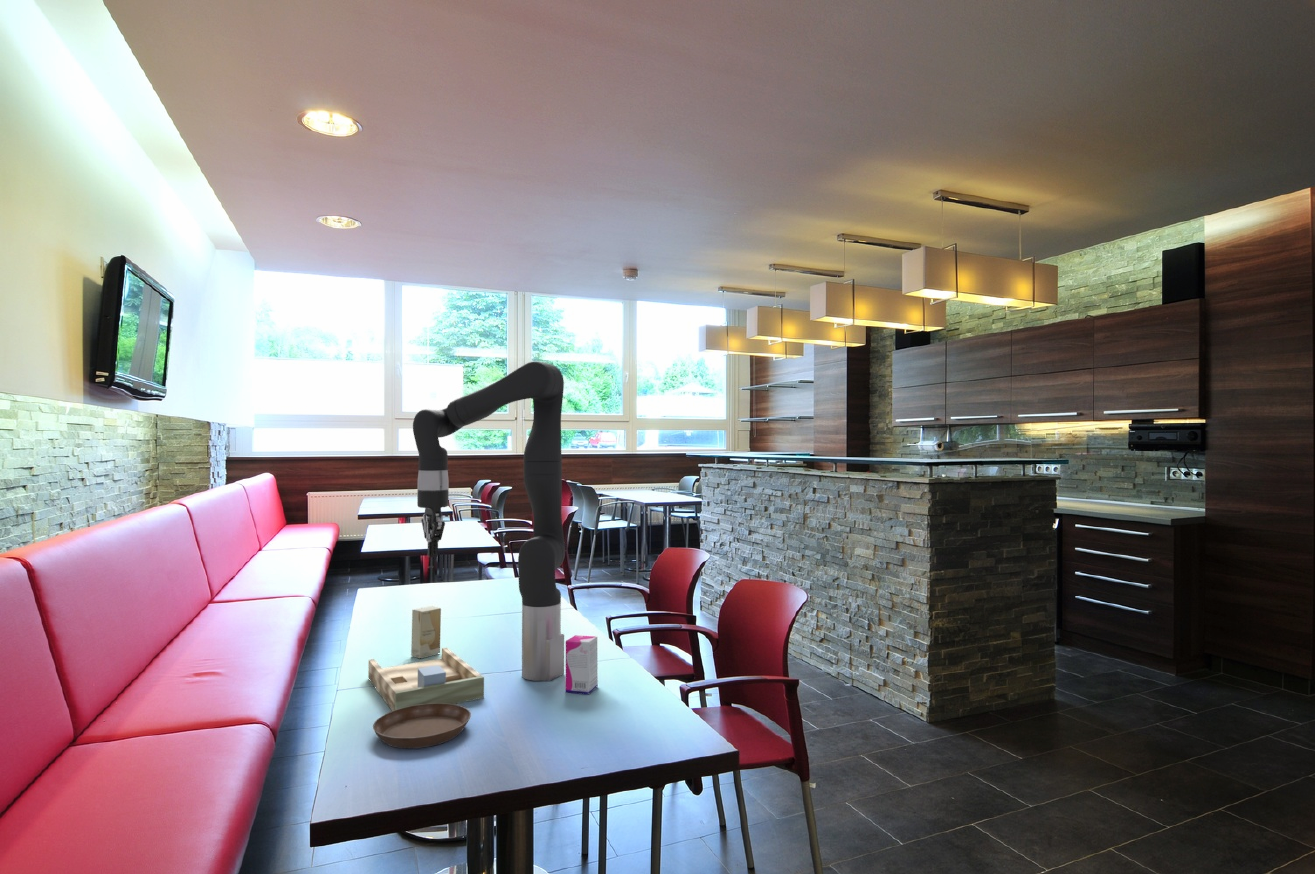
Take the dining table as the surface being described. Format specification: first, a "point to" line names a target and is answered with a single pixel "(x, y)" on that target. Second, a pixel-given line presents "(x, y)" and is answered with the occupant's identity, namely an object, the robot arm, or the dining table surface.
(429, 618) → the skincare box
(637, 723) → the dining table surface
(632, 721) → the dining table surface
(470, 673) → the channel
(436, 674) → the block
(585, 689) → the supplement box
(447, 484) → the robot arm
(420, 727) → the plant saucer
